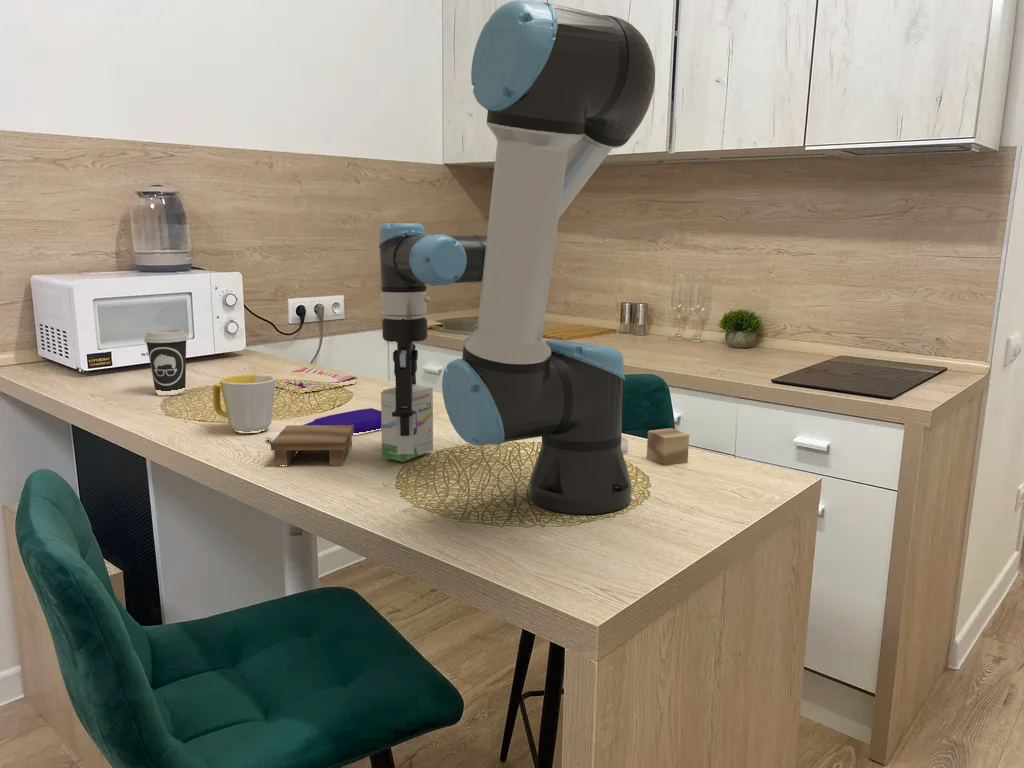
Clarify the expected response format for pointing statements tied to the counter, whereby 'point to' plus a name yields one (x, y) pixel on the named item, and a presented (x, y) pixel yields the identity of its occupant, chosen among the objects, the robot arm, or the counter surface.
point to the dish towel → (309, 370)
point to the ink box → (421, 422)
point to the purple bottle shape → (347, 421)
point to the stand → (313, 442)
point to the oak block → (667, 446)
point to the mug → (246, 401)
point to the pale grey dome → (624, 445)
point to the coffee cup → (167, 358)
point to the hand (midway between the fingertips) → (407, 445)
